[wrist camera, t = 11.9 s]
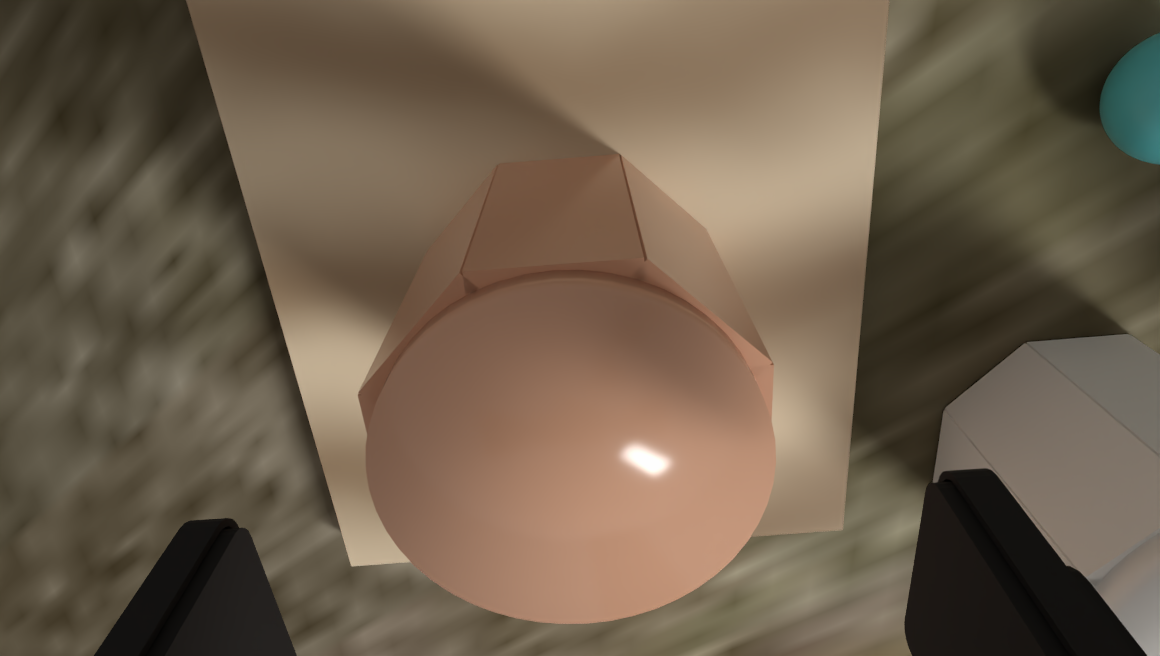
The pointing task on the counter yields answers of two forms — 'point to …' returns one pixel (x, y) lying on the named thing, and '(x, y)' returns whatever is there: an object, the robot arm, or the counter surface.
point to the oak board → (554, 131)
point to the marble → (1134, 102)
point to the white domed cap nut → (1076, 459)
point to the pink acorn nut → (570, 400)
